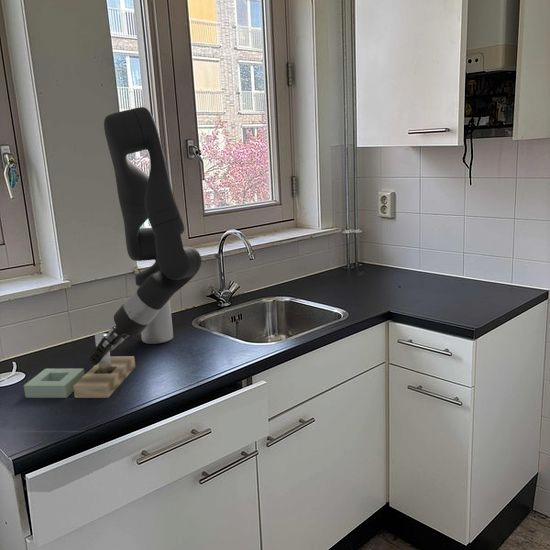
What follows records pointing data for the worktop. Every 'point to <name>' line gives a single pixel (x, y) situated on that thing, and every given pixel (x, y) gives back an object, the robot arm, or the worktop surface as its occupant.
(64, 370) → the holder block
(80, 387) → the notched wooden block
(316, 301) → the worktop surface
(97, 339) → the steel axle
